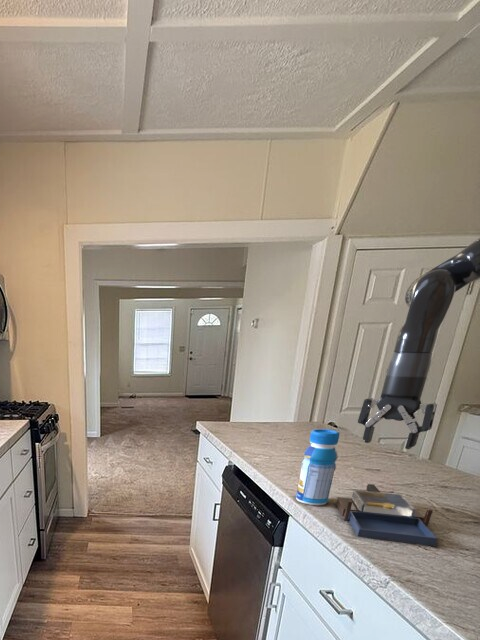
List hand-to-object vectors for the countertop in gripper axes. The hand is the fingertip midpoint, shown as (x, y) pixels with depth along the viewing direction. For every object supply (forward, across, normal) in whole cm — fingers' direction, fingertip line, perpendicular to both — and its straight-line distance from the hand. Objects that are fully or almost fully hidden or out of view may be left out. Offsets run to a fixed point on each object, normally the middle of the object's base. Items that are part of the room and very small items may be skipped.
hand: (387, 445), depth 96 cm
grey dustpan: (+17, +1, -6) cm, 18 cm away
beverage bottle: (+19, +15, -1) cm, 24 cm away
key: (+16, -1, -4) cm, 17 cm away
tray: (+19, -6, +5) cm, 21 cm away
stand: (+19, -1, -4) cm, 19 cm away
